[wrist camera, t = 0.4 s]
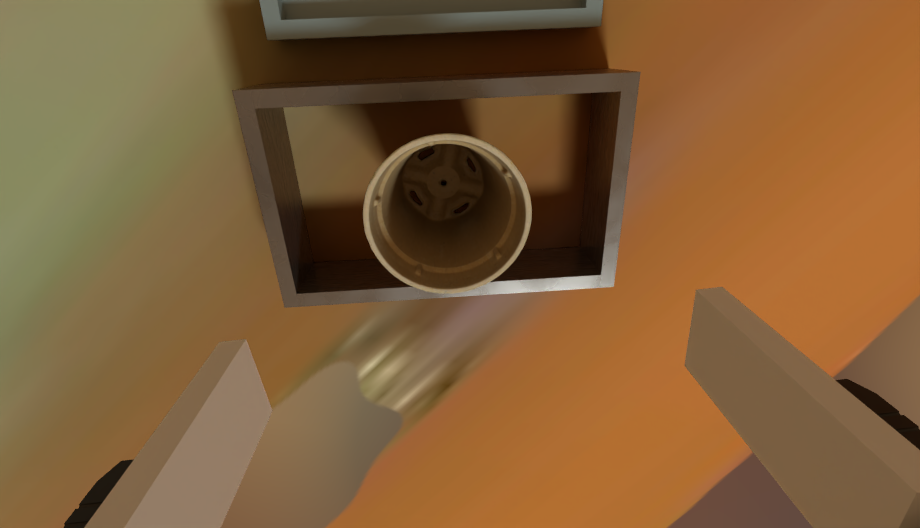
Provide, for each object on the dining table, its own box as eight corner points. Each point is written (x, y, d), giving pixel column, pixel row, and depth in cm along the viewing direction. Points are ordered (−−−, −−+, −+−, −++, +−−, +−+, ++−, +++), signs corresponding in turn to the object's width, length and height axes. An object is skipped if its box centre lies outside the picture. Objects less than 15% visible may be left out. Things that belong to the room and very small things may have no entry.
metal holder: (303, 274, 36) (284, 307, 31) (262, 84, 29) (232, 90, 25) (590, 257, 36) (613, 286, 32) (609, 68, 30) (640, 72, 26)
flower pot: (425, 83, 30) (423, 95, 22) (533, 162, 33) (566, 198, 25) (355, 196, 33) (331, 241, 25) (459, 260, 36) (467, 319, 28)
